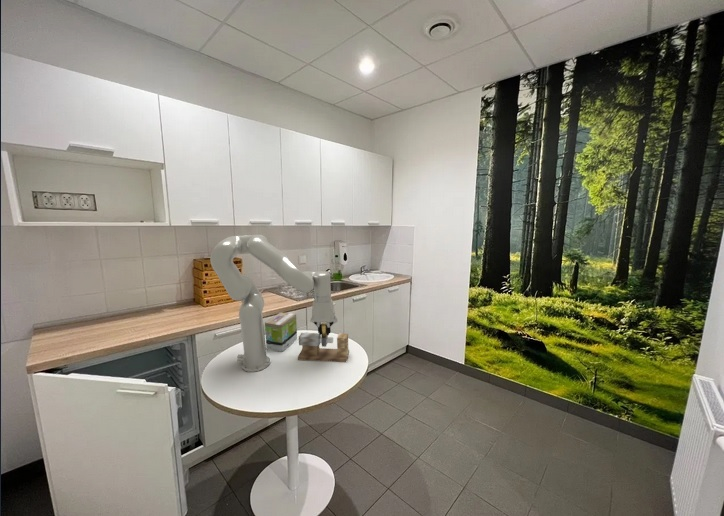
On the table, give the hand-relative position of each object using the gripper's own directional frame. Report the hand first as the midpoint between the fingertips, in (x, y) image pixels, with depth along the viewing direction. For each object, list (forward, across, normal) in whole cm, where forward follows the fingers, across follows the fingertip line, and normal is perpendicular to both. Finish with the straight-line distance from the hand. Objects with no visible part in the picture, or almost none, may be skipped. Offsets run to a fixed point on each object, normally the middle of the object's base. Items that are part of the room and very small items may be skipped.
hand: (324, 333), depth 142 cm
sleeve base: (+12, -1, 0) cm, 12 cm away
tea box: (+12, -25, +10) cm, 30 cm away
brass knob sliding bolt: (+5, -3, 0) cm, 6 cm away
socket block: (+10, +9, 0) cm, 13 cm away
